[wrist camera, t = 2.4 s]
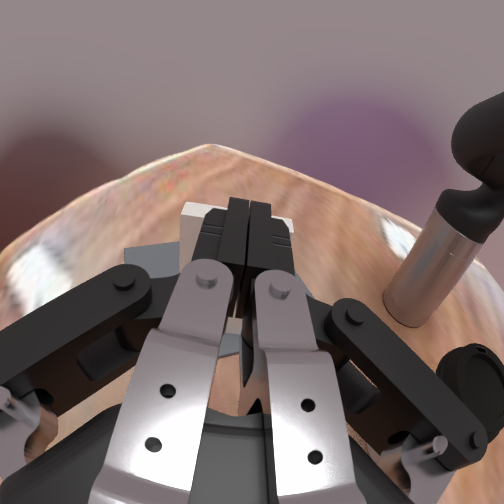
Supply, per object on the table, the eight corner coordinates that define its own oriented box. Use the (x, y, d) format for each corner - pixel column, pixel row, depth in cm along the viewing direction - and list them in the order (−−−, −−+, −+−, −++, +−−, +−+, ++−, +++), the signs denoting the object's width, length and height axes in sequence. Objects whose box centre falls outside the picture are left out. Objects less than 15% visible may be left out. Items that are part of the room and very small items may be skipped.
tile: (257, 336, 31) (293, 232, 22) (180, 325, 30) (180, 214, 21) (257, 321, 33) (291, 217, 23) (183, 310, 32) (187, 200, 23)
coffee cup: (345, 477, 19) (453, 441, 10) (359, 400, 27) (443, 325, 17) (415, 480, 18) (520, 437, 8) (420, 412, 25) (505, 347, 16)
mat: (266, 234, 48) (267, 231, 48) (329, 325, 35) (331, 322, 35) (124, 251, 38) (124, 248, 38) (143, 374, 25) (142, 371, 25)
